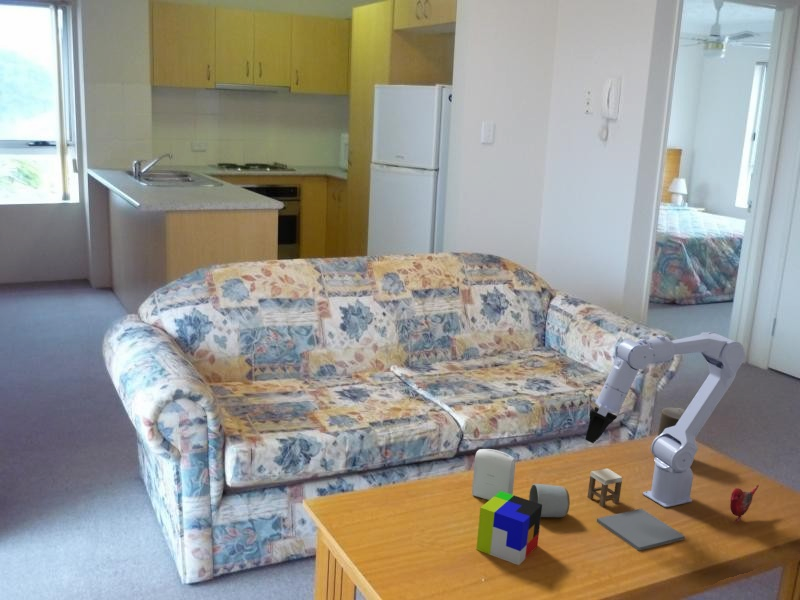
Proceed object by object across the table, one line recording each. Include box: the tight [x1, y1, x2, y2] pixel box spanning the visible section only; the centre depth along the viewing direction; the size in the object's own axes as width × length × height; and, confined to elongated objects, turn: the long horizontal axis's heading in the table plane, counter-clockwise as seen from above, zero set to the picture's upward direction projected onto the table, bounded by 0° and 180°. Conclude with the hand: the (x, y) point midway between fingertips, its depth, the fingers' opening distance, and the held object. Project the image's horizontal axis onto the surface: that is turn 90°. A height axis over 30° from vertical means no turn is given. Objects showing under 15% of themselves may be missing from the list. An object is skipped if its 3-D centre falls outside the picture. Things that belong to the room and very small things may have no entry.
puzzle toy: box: [475, 491, 542, 566], centre depth 180 cm, size 10×10×10 cm
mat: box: [596, 508, 686, 552], centre depth 192 cm, size 14×14×1 cm
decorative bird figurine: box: [729, 484, 759, 524], centre depth 200 cm, size 3×18×10 cm, turn 137°
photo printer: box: [471, 448, 516, 501], centre depth 202 cm, size 10×4×12 cm, turn 63°
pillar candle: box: [656, 407, 686, 444], centre depth 233 cm, size 10×10×15 cm
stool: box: [587, 468, 623, 508], centre depth 205 cm, size 5×5×7 cm
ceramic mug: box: [528, 483, 571, 518], centre depth 197 cm, size 11×8×8 cm
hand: (591, 439), depth 198 cm, fingers open, 7 cm apart
